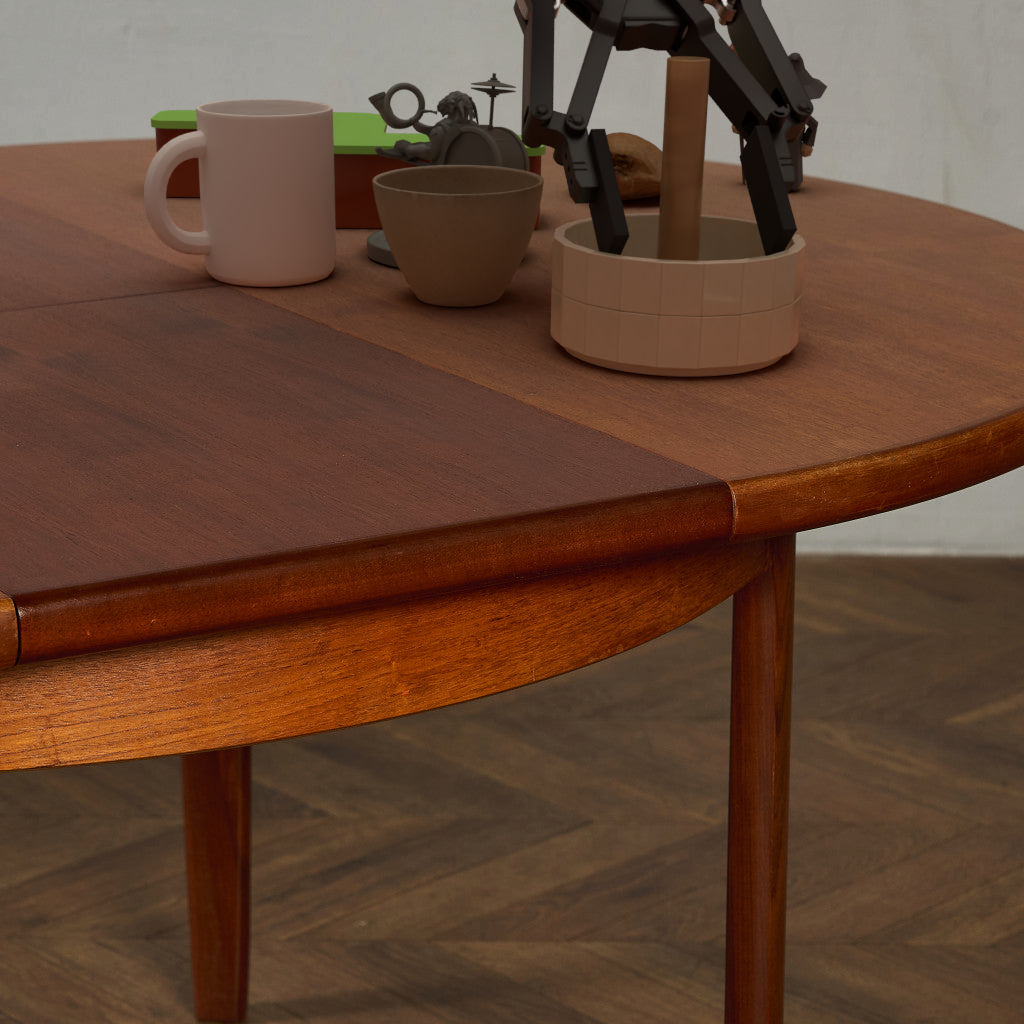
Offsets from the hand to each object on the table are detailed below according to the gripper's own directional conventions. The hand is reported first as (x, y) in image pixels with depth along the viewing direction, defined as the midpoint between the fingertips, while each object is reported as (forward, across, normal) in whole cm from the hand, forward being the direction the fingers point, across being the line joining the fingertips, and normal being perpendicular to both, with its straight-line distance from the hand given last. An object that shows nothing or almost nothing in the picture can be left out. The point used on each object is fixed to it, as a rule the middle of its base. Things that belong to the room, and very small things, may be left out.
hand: (699, 247), depth 83 cm
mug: (-13, +21, -22) cm, 33 cm away
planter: (-29, +11, -38) cm, 49 cm away
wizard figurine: (-30, -25, -39) cm, 56 cm away
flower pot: (-7, +9, -16) cm, 20 cm away
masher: (+2, 0, -6) cm, 6 cm away
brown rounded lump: (-29, -12, -38) cm, 49 cm away
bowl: (+2, 0, -6) cm, 7 cm away
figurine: (-15, +7, -24) cm, 30 cm away
